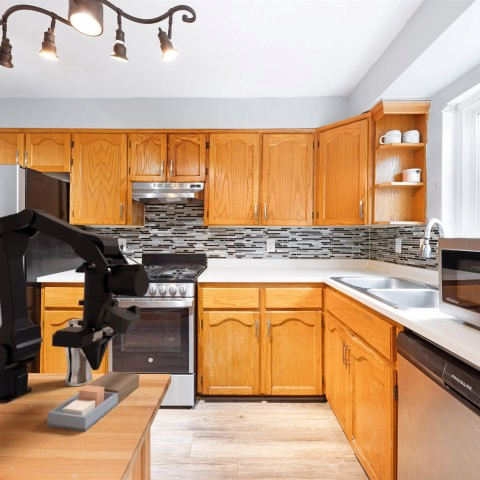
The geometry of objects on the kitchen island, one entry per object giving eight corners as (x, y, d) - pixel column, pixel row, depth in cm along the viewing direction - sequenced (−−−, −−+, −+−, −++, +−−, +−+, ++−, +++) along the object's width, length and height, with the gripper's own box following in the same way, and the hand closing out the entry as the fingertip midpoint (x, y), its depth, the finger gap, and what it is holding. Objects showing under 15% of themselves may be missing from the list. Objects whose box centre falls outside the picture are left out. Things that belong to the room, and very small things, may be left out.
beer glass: (56, 383, 76) (59, 321, 76) (82, 373, 82) (85, 317, 83) (74, 389, 73) (77, 325, 73) (100, 379, 79) (102, 320, 79)
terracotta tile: (86, 404, 65) (78, 410, 62) (87, 385, 65) (79, 390, 62) (103, 406, 64) (96, 412, 62) (104, 387, 64) (97, 392, 62)
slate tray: (46, 426, 57) (47, 412, 57) (84, 400, 68) (84, 388, 68) (85, 431, 56) (85, 417, 56) (117, 404, 66) (118, 392, 66)
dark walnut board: (84, 400, 68) (84, 386, 68) (108, 383, 76) (109, 371, 76) (117, 404, 66) (118, 390, 66) (138, 386, 75) (139, 374, 75)
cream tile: (77, 398, 62) (76, 411, 62) (62, 408, 58) (62, 422, 58) (95, 400, 61) (94, 413, 61) (81, 410, 57) (81, 424, 57)
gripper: (106, 303, 55) (102, 393, 54) (154, 291, 73) (152, 358, 72) (51, 300, 57) (47, 387, 56) (111, 289, 75) (109, 354, 74)
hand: (95, 369), depth 65 cm, fingers closed
